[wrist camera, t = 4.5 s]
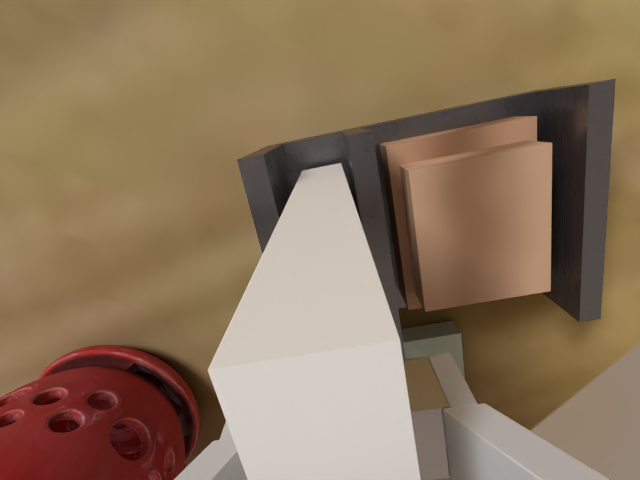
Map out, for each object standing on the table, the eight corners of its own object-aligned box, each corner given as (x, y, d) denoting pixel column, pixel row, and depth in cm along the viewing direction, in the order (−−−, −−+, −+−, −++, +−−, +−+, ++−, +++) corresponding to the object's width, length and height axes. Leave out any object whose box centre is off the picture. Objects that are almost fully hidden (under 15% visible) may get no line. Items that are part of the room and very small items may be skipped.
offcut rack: (535, 90, 19) (661, 72, 12) (536, 272, 22) (634, 342, 15) (267, 146, 20) (237, 159, 13) (307, 312, 24) (300, 394, 16)
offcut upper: (526, 140, 17) (552, 142, 15) (527, 273, 19) (550, 291, 17) (399, 165, 17) (408, 170, 15) (415, 293, 19) (425, 311, 17)
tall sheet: (340, 162, 18) (400, 340, 3) (365, 301, 20) (457, 731, 6) (302, 170, 18) (207, 369, 4) (331, 307, 20) (342, 739, 6)
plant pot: (246, 435, 27) (191, 660, 16) (103, 479, 29) (-41, 710, 18) (161, 294, 23) (8, 459, 12) (1, 354, 25) (-267, 548, 14)
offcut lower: (514, 116, 18) (537, 115, 16) (518, 273, 21) (537, 288, 19) (379, 143, 19) (386, 146, 17) (400, 293, 21) (408, 310, 20)
